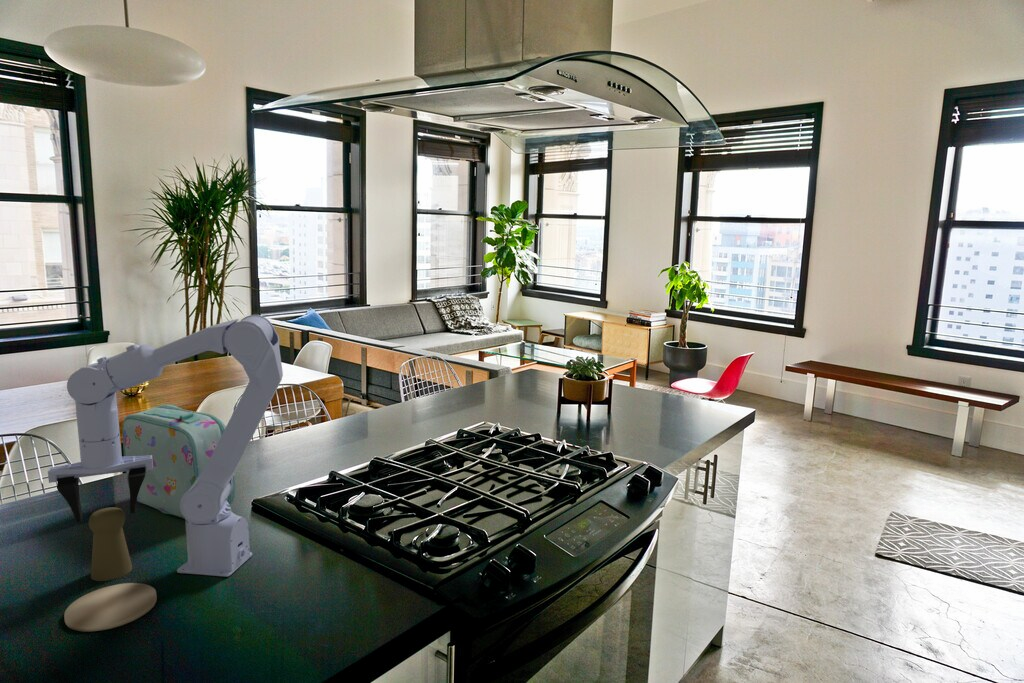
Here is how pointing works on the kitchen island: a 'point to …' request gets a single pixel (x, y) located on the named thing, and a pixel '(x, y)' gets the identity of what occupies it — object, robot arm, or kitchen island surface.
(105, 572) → the pepper shaker
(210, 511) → the robot arm
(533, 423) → the kitchen island surface
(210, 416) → the lunch box
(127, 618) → the cork trivet
